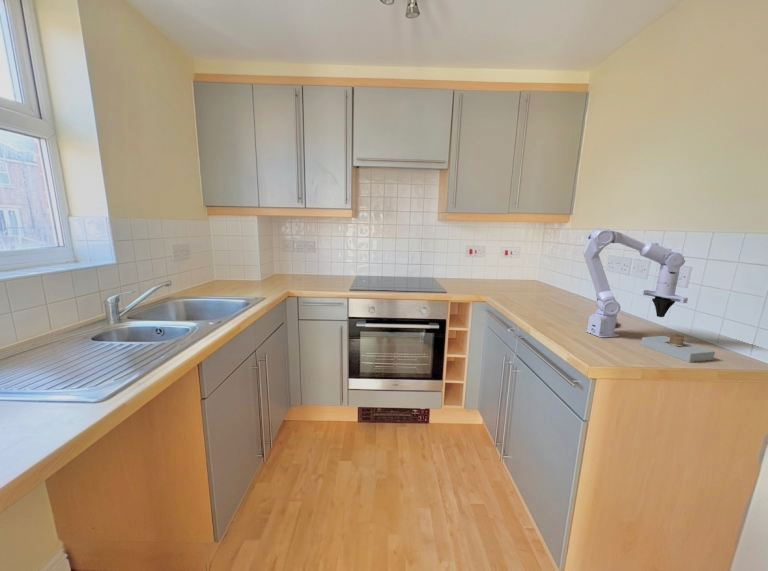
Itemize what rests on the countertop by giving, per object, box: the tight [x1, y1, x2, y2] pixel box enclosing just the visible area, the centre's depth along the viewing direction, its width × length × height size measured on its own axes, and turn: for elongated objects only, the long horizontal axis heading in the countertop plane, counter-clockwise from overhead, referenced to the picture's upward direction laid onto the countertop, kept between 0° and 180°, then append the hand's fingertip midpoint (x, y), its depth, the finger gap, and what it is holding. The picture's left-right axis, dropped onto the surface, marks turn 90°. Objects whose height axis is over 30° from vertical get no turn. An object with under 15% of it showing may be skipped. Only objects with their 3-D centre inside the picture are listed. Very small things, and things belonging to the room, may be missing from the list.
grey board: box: [640, 335, 716, 363], centre depth 114 cm, size 11×16×3 cm
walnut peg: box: [669, 334, 685, 347], centre depth 114 cm, size 4×4×6 cm
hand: (660, 316), depth 124 cm, fingers closed
